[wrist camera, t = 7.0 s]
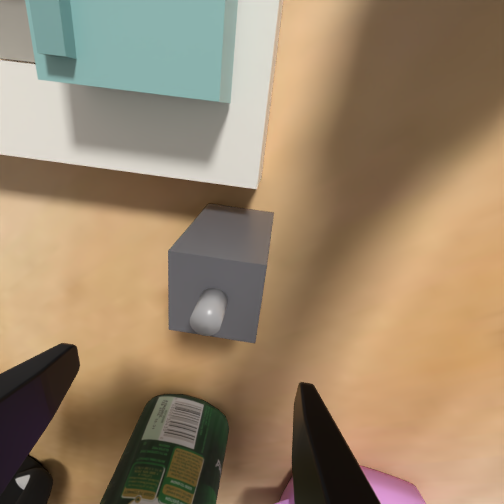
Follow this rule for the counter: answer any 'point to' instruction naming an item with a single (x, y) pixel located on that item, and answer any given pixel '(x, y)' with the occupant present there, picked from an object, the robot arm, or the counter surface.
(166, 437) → the coffee jar
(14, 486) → the mug
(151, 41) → the block
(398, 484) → the teapot
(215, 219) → the plug
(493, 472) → the counter surface
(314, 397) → the robot arm
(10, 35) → the socket plate
